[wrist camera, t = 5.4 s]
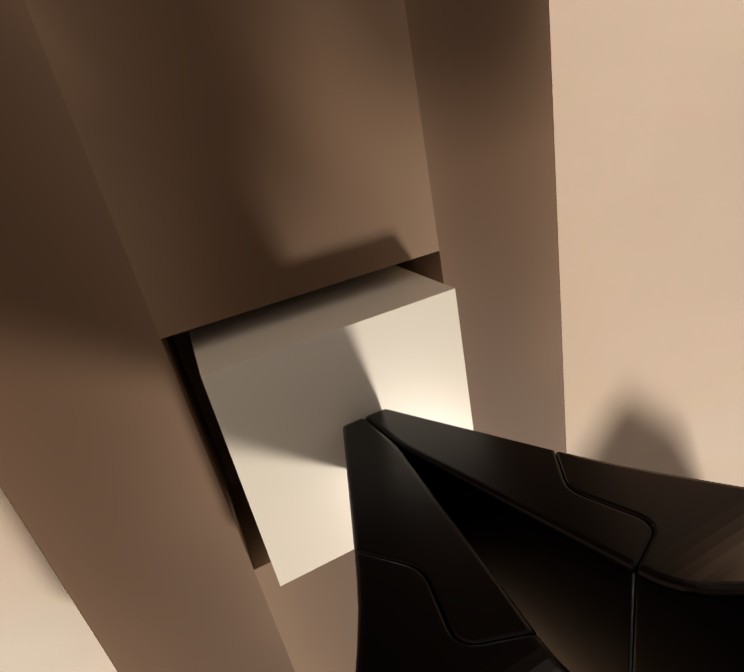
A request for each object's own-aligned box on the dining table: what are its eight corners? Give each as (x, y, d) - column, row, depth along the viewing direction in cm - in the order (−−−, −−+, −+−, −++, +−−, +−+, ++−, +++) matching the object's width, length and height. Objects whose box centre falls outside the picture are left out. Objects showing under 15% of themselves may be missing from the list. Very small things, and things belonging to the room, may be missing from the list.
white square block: (382, 260, 11) (455, 288, 8) (412, 421, 13) (480, 485, 10) (185, 321, 10) (200, 377, 7) (249, 491, 11) (280, 586, 9)
